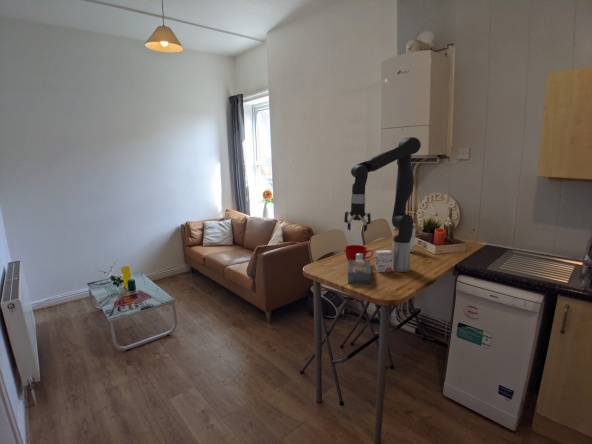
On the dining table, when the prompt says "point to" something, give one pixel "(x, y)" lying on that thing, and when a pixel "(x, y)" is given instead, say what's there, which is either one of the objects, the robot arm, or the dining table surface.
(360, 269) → the grey rectangular block
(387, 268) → the ink box
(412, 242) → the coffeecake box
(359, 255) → the steel peg
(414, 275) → the dining table surface
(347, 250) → the ceramic cup
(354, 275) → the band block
